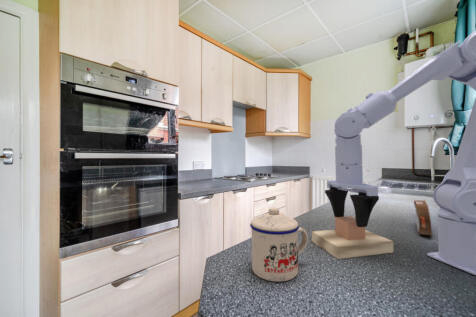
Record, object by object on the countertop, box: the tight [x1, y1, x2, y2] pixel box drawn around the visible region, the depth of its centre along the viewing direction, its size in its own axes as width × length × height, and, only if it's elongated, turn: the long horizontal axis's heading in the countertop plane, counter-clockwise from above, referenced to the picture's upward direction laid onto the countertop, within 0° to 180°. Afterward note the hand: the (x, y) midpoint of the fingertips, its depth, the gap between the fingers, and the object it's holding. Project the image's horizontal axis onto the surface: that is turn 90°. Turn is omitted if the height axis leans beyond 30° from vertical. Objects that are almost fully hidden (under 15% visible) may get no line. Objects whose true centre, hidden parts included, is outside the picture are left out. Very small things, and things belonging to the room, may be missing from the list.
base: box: [311, 229, 394, 260], centre depth 51 cm, size 10×14×2 cm
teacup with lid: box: [249, 207, 309, 282], centre depth 41 cm, size 12×9×12 cm
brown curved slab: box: [413, 199, 433, 237], centre depth 61 cm, size 15×3×8 cm, turn 143°
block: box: [334, 215, 366, 240], centre depth 51 cm, size 4×4×4 cm
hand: (349, 221), depth 51 cm, fingers open, 7 cm apart
